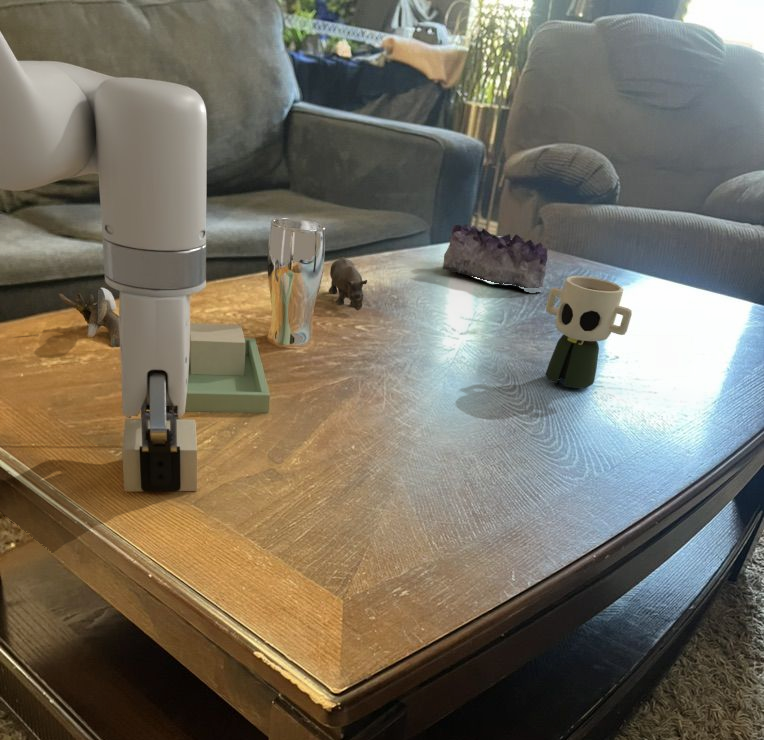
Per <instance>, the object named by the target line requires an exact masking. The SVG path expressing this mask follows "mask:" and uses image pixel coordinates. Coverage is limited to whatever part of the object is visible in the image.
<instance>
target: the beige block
mask: <svg viewBox="0 0 764 740" xmlns="http://www.w3.org/2000/svg"><path fill="white" fill-rule="evenodd" d="M244 335H245V334H244V331H243V327H242V325H241V324H226V323H202V322H201V323H200V322H190V353H189V355H190V372H191V374H198V375H233V376H244V371H245V339H244V338H245V336H244Z"/></svg>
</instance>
